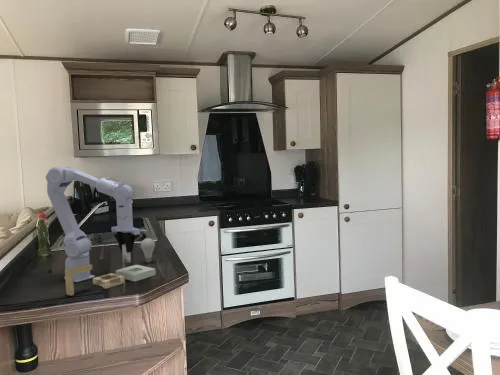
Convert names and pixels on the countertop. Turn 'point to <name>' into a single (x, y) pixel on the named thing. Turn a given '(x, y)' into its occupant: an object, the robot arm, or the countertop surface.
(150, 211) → the countertop surface
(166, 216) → the countertop surface
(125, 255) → the steel pin
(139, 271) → the pale grey flat frame
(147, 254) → the lightbulb
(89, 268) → the tan l-shaped wooden piece
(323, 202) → the countertop surface
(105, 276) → the socket block
